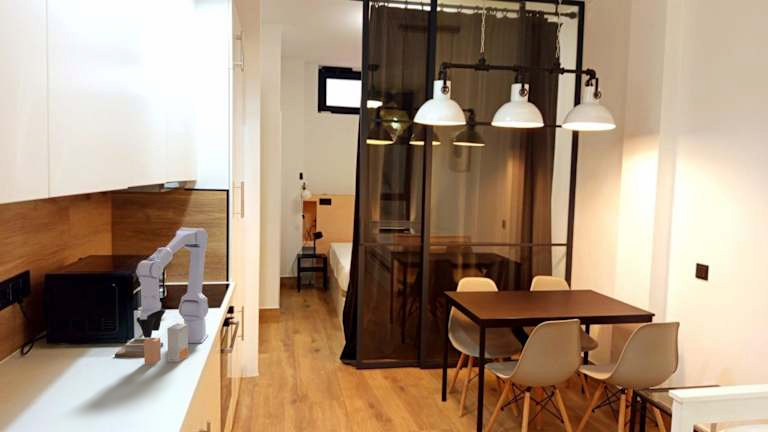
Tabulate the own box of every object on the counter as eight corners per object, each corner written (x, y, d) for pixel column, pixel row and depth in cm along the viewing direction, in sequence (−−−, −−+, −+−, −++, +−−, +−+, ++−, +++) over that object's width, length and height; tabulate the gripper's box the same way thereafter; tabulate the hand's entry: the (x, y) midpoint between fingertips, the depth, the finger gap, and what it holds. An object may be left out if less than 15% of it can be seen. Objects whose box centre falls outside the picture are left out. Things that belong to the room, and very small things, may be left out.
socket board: (127, 346, 193) (127, 336, 193) (163, 345, 194) (162, 336, 194) (114, 357, 182) (114, 347, 182) (152, 356, 183) (152, 346, 183)
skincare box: (178, 362, 177) (177, 329, 176) (167, 361, 178) (166, 328, 177) (188, 356, 183) (187, 323, 182) (178, 355, 184) (177, 323, 183)
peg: (149, 359, 180) (148, 337, 179) (160, 359, 180) (160, 337, 179) (144, 364, 176) (143, 341, 175) (156, 364, 176) (155, 341, 176)
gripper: (146, 290, 183) (147, 327, 184) (129, 300, 168) (131, 341, 170) (166, 290, 183) (167, 327, 185) (151, 300, 169) (153, 340, 170)
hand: (151, 333), depth 177 cm, fingers open, 7 cm apart
